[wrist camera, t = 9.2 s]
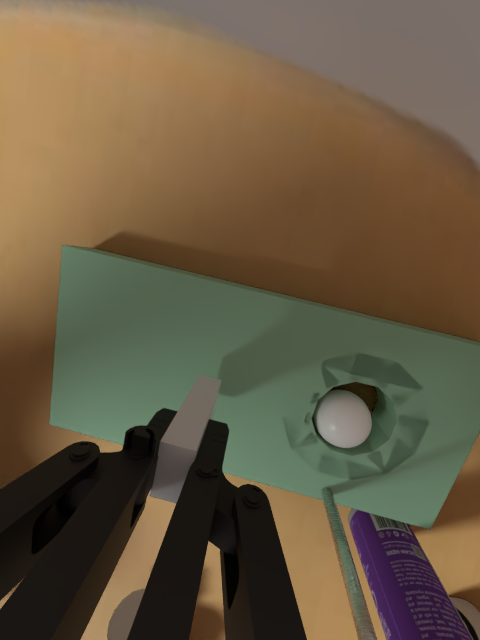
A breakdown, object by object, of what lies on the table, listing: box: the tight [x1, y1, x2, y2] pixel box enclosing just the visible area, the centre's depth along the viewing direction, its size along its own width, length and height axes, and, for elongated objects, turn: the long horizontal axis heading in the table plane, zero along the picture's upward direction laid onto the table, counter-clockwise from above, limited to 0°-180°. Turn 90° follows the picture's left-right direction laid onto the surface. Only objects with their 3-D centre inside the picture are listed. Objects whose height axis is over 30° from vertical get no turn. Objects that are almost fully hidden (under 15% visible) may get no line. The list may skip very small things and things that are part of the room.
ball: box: [313, 389, 372, 448], centre depth 19 cm, size 4×4×4 cm
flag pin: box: [321, 487, 377, 640], centre depth 12 cm, size 4×1×14 cm, turn 77°
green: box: [49, 245, 480, 530], centre depth 19 cm, size 30×14×3 cm, turn 77°
